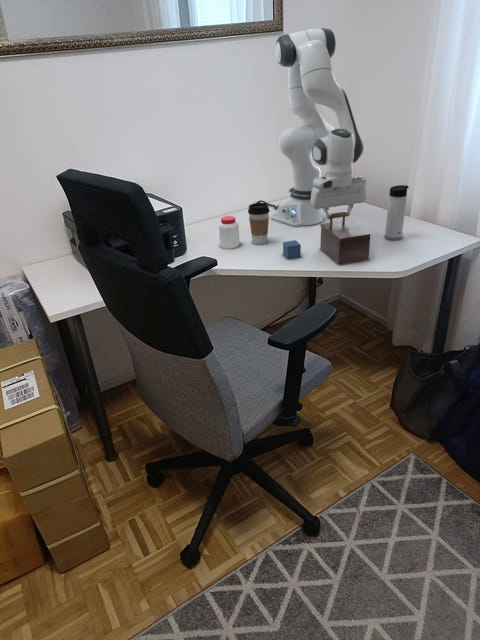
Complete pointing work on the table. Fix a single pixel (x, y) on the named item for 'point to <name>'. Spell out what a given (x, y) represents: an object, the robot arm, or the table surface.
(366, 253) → the chest
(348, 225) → the lid
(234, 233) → the pill bottle
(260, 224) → the coffee cup
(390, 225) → the travel mug
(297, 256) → the block
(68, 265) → the table surface
